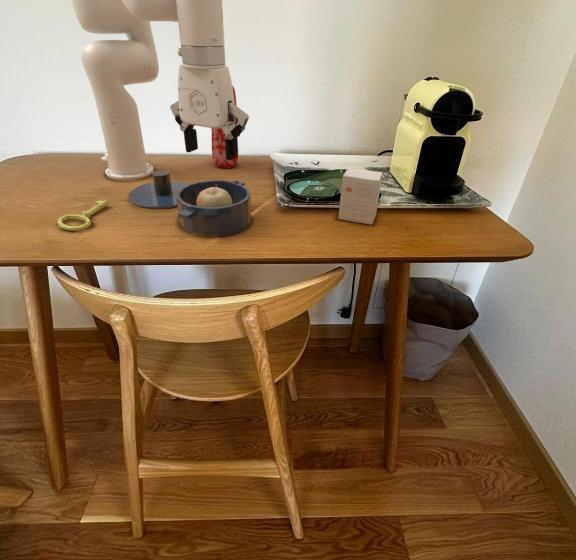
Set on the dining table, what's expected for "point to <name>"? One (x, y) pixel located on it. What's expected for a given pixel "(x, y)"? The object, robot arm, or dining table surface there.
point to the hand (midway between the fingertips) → (211, 154)
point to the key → (81, 217)
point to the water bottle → (222, 145)
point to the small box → (360, 195)
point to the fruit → (213, 197)
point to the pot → (214, 209)
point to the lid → (157, 192)
